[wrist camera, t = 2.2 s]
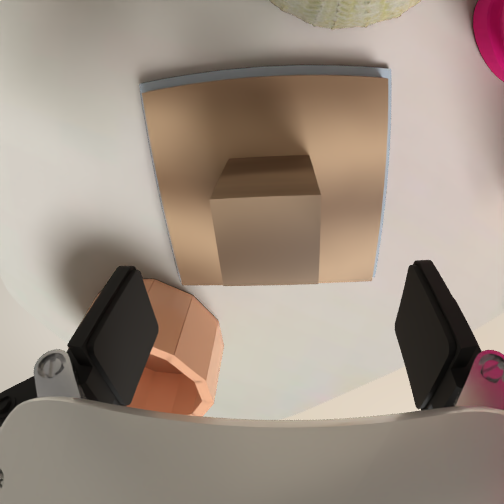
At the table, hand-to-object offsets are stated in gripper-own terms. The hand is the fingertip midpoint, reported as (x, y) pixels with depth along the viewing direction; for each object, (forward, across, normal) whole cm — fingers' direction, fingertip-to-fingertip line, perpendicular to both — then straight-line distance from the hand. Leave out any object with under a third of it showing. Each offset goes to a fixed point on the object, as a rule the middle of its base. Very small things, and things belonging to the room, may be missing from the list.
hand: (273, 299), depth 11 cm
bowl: (+9, +10, +11) cm, 18 cm away
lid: (+8, 0, -1) cm, 8 cm away
